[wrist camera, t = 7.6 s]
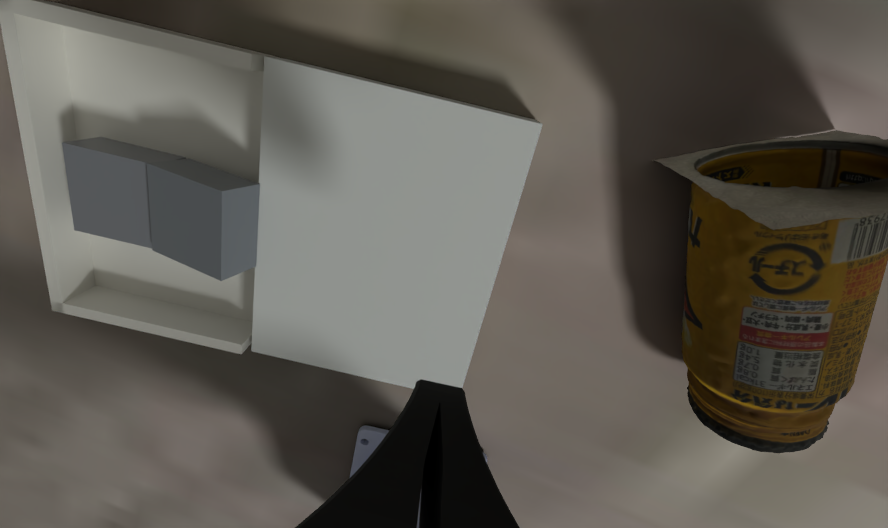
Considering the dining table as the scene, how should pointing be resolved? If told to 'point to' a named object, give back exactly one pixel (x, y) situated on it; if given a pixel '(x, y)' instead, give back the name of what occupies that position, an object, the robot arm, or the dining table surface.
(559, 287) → the dining table surface
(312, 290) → the board
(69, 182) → the tile rear
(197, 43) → the tray
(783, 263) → the condiment
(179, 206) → the tile front
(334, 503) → the robot arm
